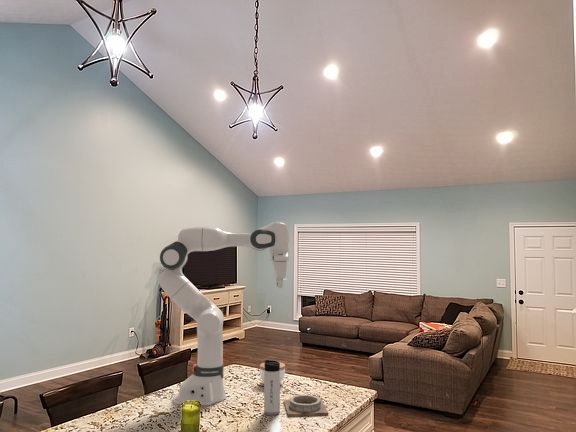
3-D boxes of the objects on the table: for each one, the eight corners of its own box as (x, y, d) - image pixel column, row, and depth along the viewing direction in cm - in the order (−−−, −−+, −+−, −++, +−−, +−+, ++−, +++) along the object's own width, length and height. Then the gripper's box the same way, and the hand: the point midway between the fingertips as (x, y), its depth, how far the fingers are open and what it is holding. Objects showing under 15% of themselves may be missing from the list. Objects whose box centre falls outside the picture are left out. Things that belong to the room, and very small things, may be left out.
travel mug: (270, 408, 175) (270, 358, 176) (283, 412, 170) (283, 361, 172) (260, 412, 170) (260, 361, 172) (272, 416, 166) (272, 364, 167)
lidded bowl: (256, 381, 212) (257, 358, 213) (281, 379, 216) (281, 356, 217) (263, 388, 200) (263, 364, 201) (288, 386, 204) (288, 362, 205)
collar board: (287, 416, 166) (287, 407, 166) (283, 402, 182) (283, 394, 182) (328, 415, 167) (328, 405, 168) (320, 401, 183) (320, 392, 184)
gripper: (271, 256, 206) (270, 285, 205) (274, 257, 186) (274, 289, 184) (284, 256, 207) (284, 285, 205) (288, 257, 186) (288, 289, 185)
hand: (279, 287), depth 195 cm, fingers open, 8 cm apart
